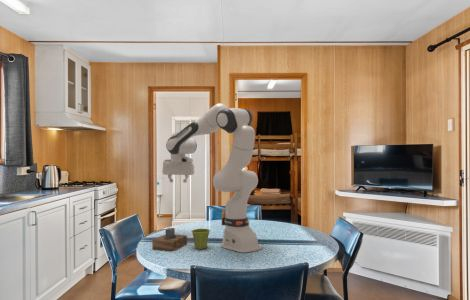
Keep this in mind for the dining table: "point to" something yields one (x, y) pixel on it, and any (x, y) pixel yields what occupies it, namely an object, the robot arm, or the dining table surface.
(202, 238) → the plant pot
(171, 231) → the servo
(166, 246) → the brown wooden box
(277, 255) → the dining table surface
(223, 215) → the ammunition clip
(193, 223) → the dining table surface
